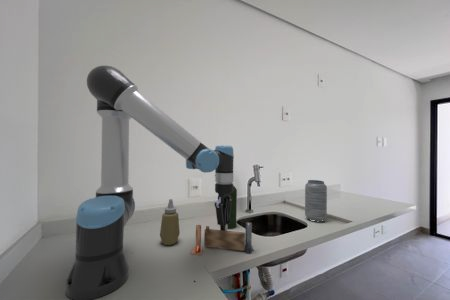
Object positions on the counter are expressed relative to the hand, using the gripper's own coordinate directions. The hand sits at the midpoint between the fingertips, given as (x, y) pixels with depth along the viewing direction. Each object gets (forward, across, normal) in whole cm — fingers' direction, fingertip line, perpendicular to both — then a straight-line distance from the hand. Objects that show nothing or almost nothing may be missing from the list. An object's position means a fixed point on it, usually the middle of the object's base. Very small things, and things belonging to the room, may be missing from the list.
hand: (223, 239), depth 80 cm
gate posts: (+2, +4, +1) cm, 5 cm away
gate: (+1, +3, +2) cm, 4 cm away
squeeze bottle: (+2, +8, -21) cm, 23 cm away
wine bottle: (+3, -21, -6) cm, 22 cm away
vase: (+4, -54, +35) cm, 64 cm away
